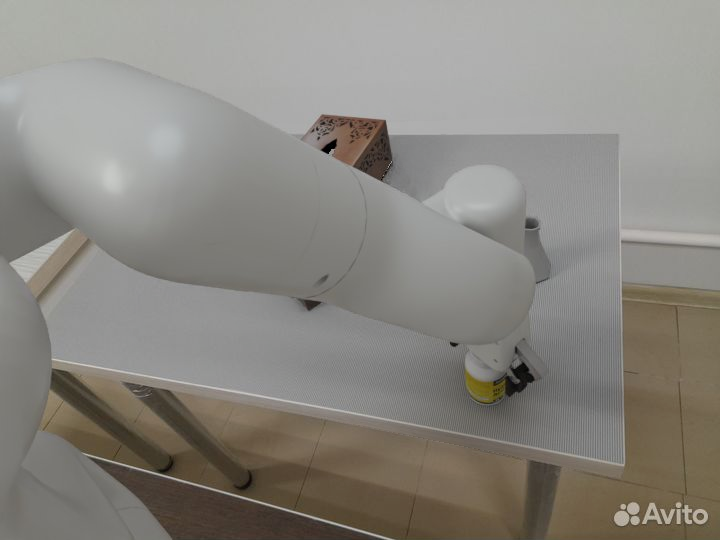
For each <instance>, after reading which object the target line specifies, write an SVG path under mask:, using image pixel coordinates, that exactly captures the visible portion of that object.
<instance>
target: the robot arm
mask: <svg viewBox="0 0 720 540" xmlns="http://www.w3.org/2000/svg"><path fill="white" fill-rule="evenodd" d="M526 216H527V191H526V188H525V184H524V183H523V181H522V179H521V178H520V177H519V176H518V175H517V174H516V173H515V172H514V171H512V170H511V169H510V168H507V167H504V166H502V165H497V164H490V163H480V164H479V163H478V164H474V165H470V166H467V167H463V168H462V169H460V170H458V171H456V172H455V173H453V174H452V175H451V176H450V177H449V178H448V179H447V180H446V181H445V184H444V185H443V186H442V188H441V189H440V190H439V191H437V192H436V193H434V194H433V195H431V196H430V197H428V198H426V199H424V200H423V201H419V200H417V199H416V198H414V197H412V196H410V195H409V194H406V193H404V192H402V191H401V190H399V189H397V188H395V187H393V186H391V185H389V184H387V183H385V182H383V181H382V180H381V181H379V180H377V179H375V178H373V177H372V176H370V175H368V174H366V173H364V172H362V171H360V170H358V169H356V168H354V167H352V166H350V165H348V164H346V163H344V162H342V161H340V160H338V159H336V158H334V157H332V156H330V155H328V154H326V153H324V152H323V151H321V150H319V149H317V148H315V147H313V146H311V145H309V144H307V143H305V142H303V141H301V138H297V137H296V136H293V135H292V134H290V133H288V132H287V131H284V130H283V129H280V128H278V127H276V126H275V125H273V124H271V123H269V122H267V121H266V120H263V119H262V118H259V117H257V116H256V115H253V114H251V113H249V112H248V111H247V110H244V109H242V108H241V107H238V106H236V105H234V104H233V103H230V102H229V101H226V100H224V99H222V98H220V97H217V96H215V95H214V94H211V93H208V92H206V91H204V90H201V89H198V88H195V87H193V86H190V85H188V84H184V83H181V82H179V81H175V80H172V79H170V78H166V77H163V76H160V75H157V74H155V73H152V72H149V71H146V70H144V69H140V68H137V67H136V66H133V65H130V64H126V63H124V62H120V61H117V60H112V59H107V58H101V57H99V58H98V57H95V58H92V57H91V58H75V59H69V60H63V61H58V62H55V63H51V64H50V63H49V64H47V65H43V66H38V67H34V68H31V69H28V70H24V71H21V72H17V73H14V74H11V75H8V76H4V77H1V78H0V540H174V539H173V538H172V537H171V535H170V534H169V533H168V532H167V530H166V529H165V528H164V526H163V525H162V524H161V523H160V522H159V520H158V519H157V518H156V517H155V515H154V514H153V513H152V512H151V511H150V509H149V508H148V507H147V506H146V505H145V503H143V501H142V500H141V499H140V498H139V497H138V496H136V494H134V493H133V492H132V491H131V490H130V489H128V488H127V487H126V486H125V485H124V484H122V483H121V482H120V481H119V480H117V479H116V477H113V476H112V474H110V473H108V472H107V471H106V470H105V469H103V468H102V466H100V465H98V463H96V462H95V461H93V460H92V459H91V458H90V457H88V456H87V455H86V454H84V453H83V451H81V450H79V449H78V448H77V447H76V446H75V445H73V444H72V443H71V442H69V441H68V440H66V439H65V438H63V437H62V436H59V435H58V434H55V433H53V432H49V431H46V430H43V429H40V427H41V426H40V425H41V423H42V420H43V418H44V414H45V411H46V408H47V403H48V398H49V394H50V389H51V384H52V373H53V372H52V371H53V357H52V356H53V355H52V342H51V338H50V333H49V327H48V324H47V321H46V319H45V316H44V313H43V311H42V308H41V306H40V304H39V301H38V300H37V298H36V296H35V295H34V293H33V291H32V290H31V289H30V287H29V285H28V284H27V283H26V281H25V280H24V278H23V277H22V276H21V275H20V274H19V273H18V271H17V270H16V269H15V268H14V267H13V265H12V264H11V263H12V262H14V261H16V260H18V259H20V258H22V257H24V256H26V255H28V254H30V253H32V252H34V251H35V250H38V249H39V248H41V247H43V246H45V245H47V244H49V243H51V242H53V241H55V240H58V238H60V237H62V236H64V235H66V234H68V233H69V232H72V231H73V230H75V229H76V230H77V231H78V232H79V233H81V234H82V235H83V236H84V237H86V238H87V239H88V240H90V241H91V242H92V243H93V244H94V245H96V246H97V247H98V248H99V249H101V250H102V251H103V252H105V254H107V255H109V256H110V257H112V258H113V259H115V260H116V261H118V262H119V263H121V264H122V265H125V266H126V267H128V268H130V269H132V270H134V271H136V272H139V273H141V274H144V275H146V276H149V277H152V278H155V279H159V280H163V281H168V282H172V283H176V284H177V283H178V284H184V285H191V286H197V287H198V286H199V287H207V288H213V289H222V290H229V291H237V292H243V293H245V292H246V293H248V292H249V293H256V294H257V293H258V294H266V295H273V296H282V297H289V298H293V299H297V298H298V299H306V300H313V301H320V302H321V303H326V304H328V305H331V306H334V307H337V308H340V309H342V310H345V311H347V312H350V313H353V314H355V315H358V316H362V317H364V318H367V319H371V320H375V321H378V322H383V323H386V324H390V325H393V326H396V327H400V328H402V329H405V330H409V331H413V332H416V333H419V334H421V335H425V336H428V337H431V338H435V339H438V340H442V341H446V342H448V343H449V345H450V346H451V347H452V348H457V347H458V346H459V345H463V346H465V347H466V348H467V349H468V351H469V350H470V351H472V352H473V353H474V354H475V355H476V356H477V357H479V358H480V359H481V360H482V361H483V362H484V363H486V364H487V365H488V366H489V367H491V368H492V369H494V370H496V371H500V372H503V371H504V370H505V371H506V372H507V374H508V376H506V378H505V393H506V395H505V396H507V397H508V398H510V397H512V396H514V394H516V393H518V394H520V393H522V392H523V391H524V390H525V389H526V388H527V387H528V385H529V384H532V383H534V382H537V381H540V380H542V379H543V378H544V377H545V376H547V375H548V374H549V373H550V369H549V367H548V366H547V365H546V364H545V363H544V362H543V360H542V359H541V358H540V356H538V355H537V353H536V352H535V351H534V350H533V349H532V347H531V346H530V343H531V342H530V341H531V321H530V310H531V309H532V305H533V304H534V299H535V294H536V289H537V287H536V286H537V285H536V284H537V282H536V280H535V273H534V270H533V267H532V265H531V263H530V262H529V260H528V259H527V258H526V257H525V256H523V255H524V236H525V219H526ZM298 299H297V300H298ZM517 359H518V360H519V362H520V364H519V365H517V366H516V367H514V365H513V364H512V363H514V362H515V361H516V360H517Z"/></svg>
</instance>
